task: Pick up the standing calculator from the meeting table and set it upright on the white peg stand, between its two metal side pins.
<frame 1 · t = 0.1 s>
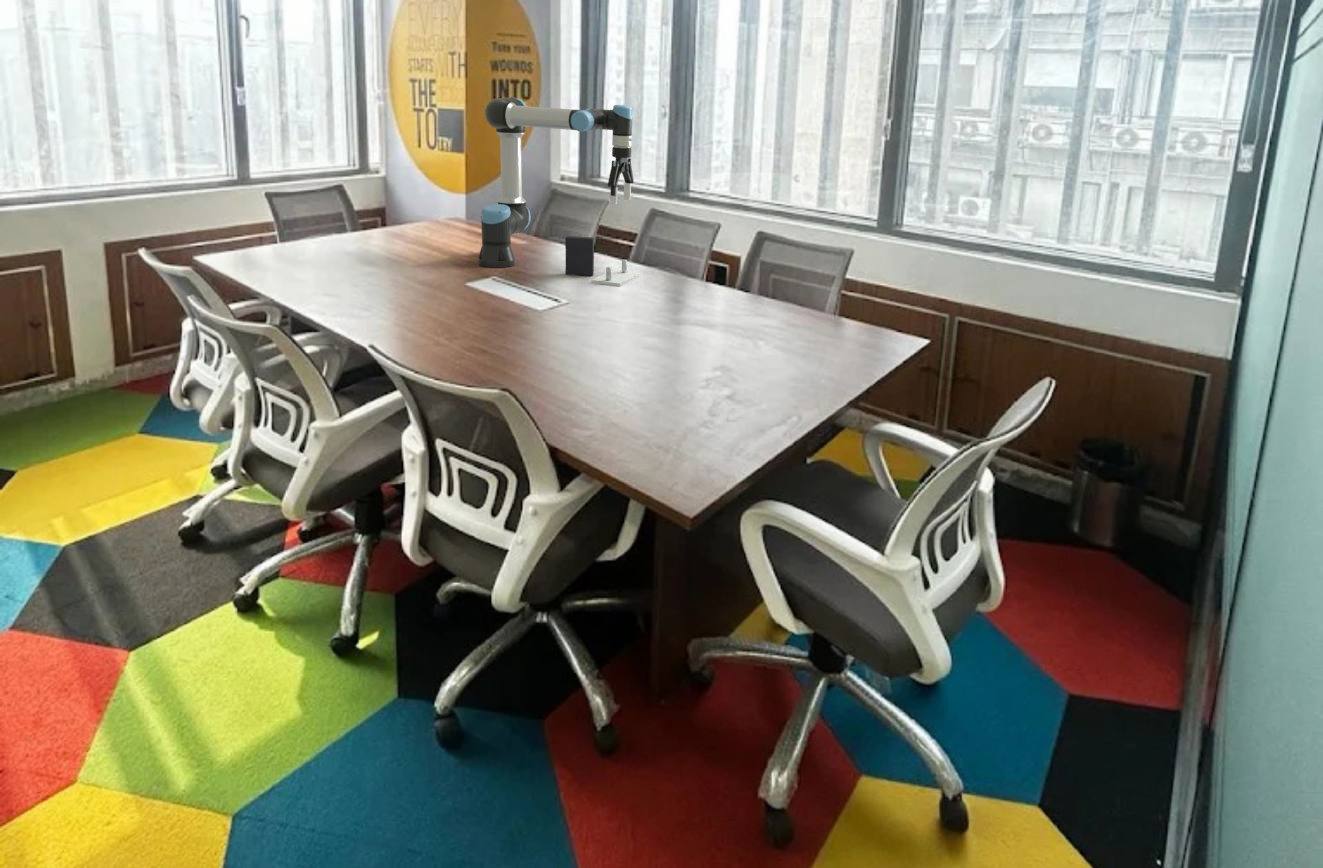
hand: (620, 202, 383), 28 cm above the table, tool pointing down, fingers open, 13 cm apart
white peg stand: (616, 279, 379), on the table
calculator: (579, 275, 384), on the table
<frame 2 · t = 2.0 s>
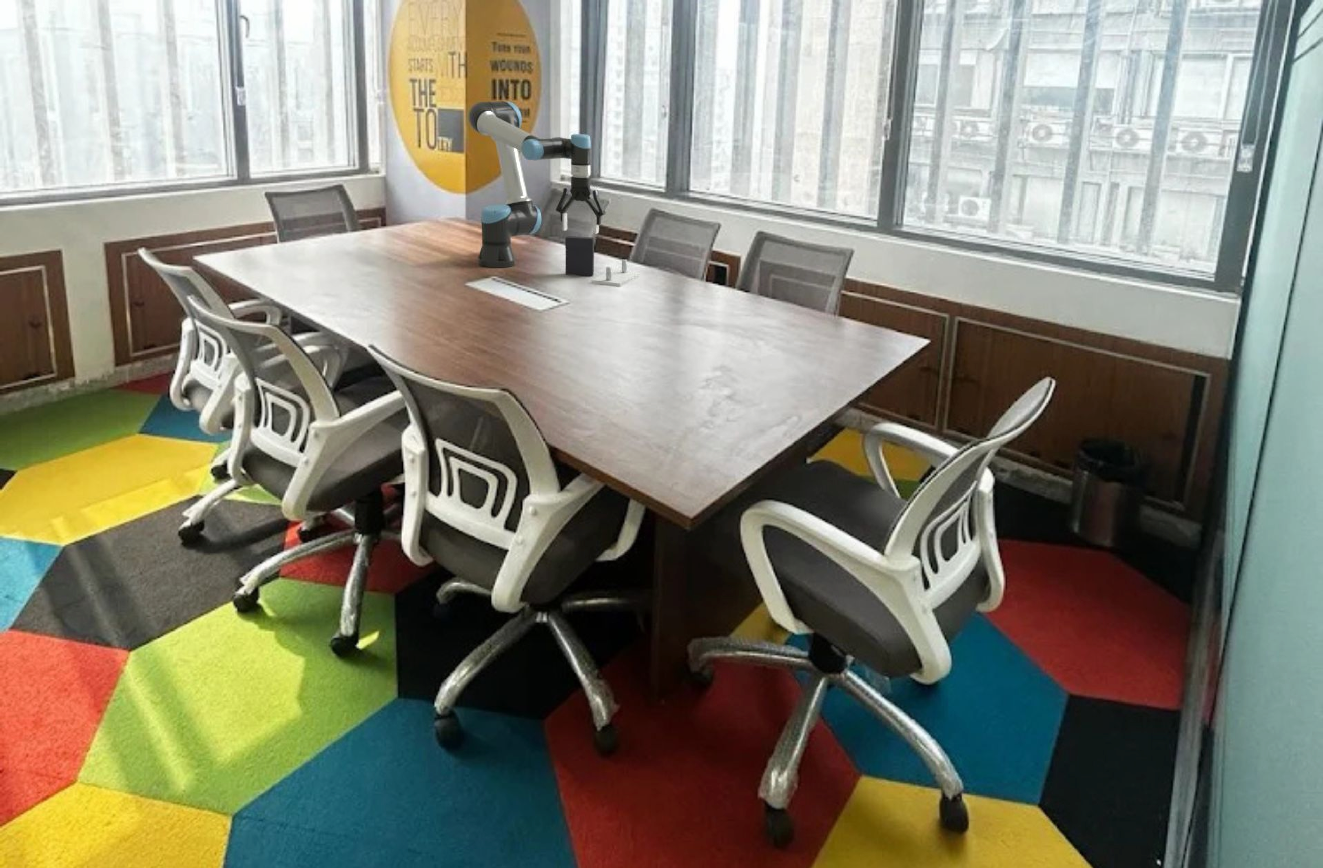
hand: (580, 231, 378), 17 cm above the table, tool pointing down, fingers open, 13 cm apart
nothing on the table moved.
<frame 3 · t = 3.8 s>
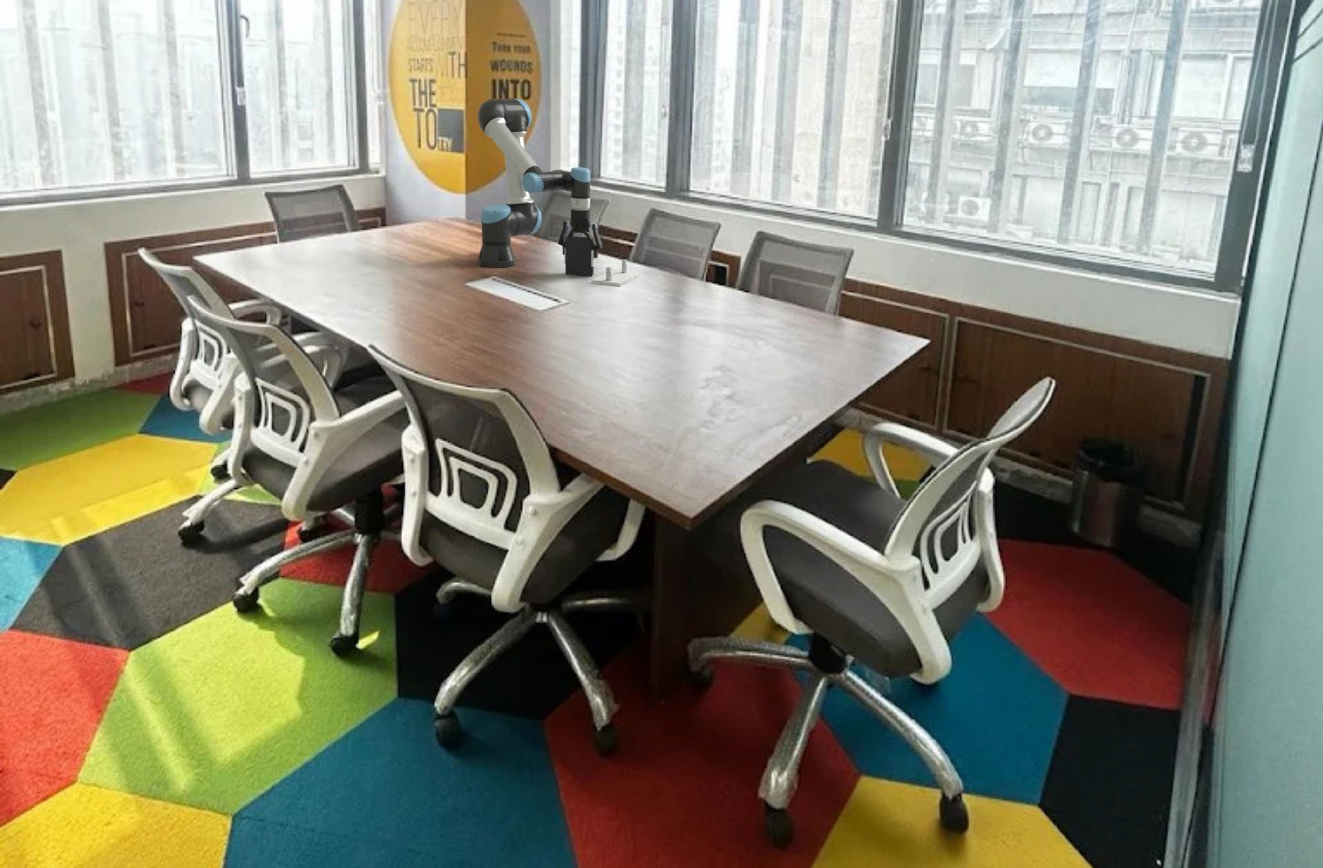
hand: (580, 264, 383), 4 cm above the table, tool pointing down, fingers closed on calculator, 11 cm apart
calculator: (579, 275, 384), on the table, touching gripper
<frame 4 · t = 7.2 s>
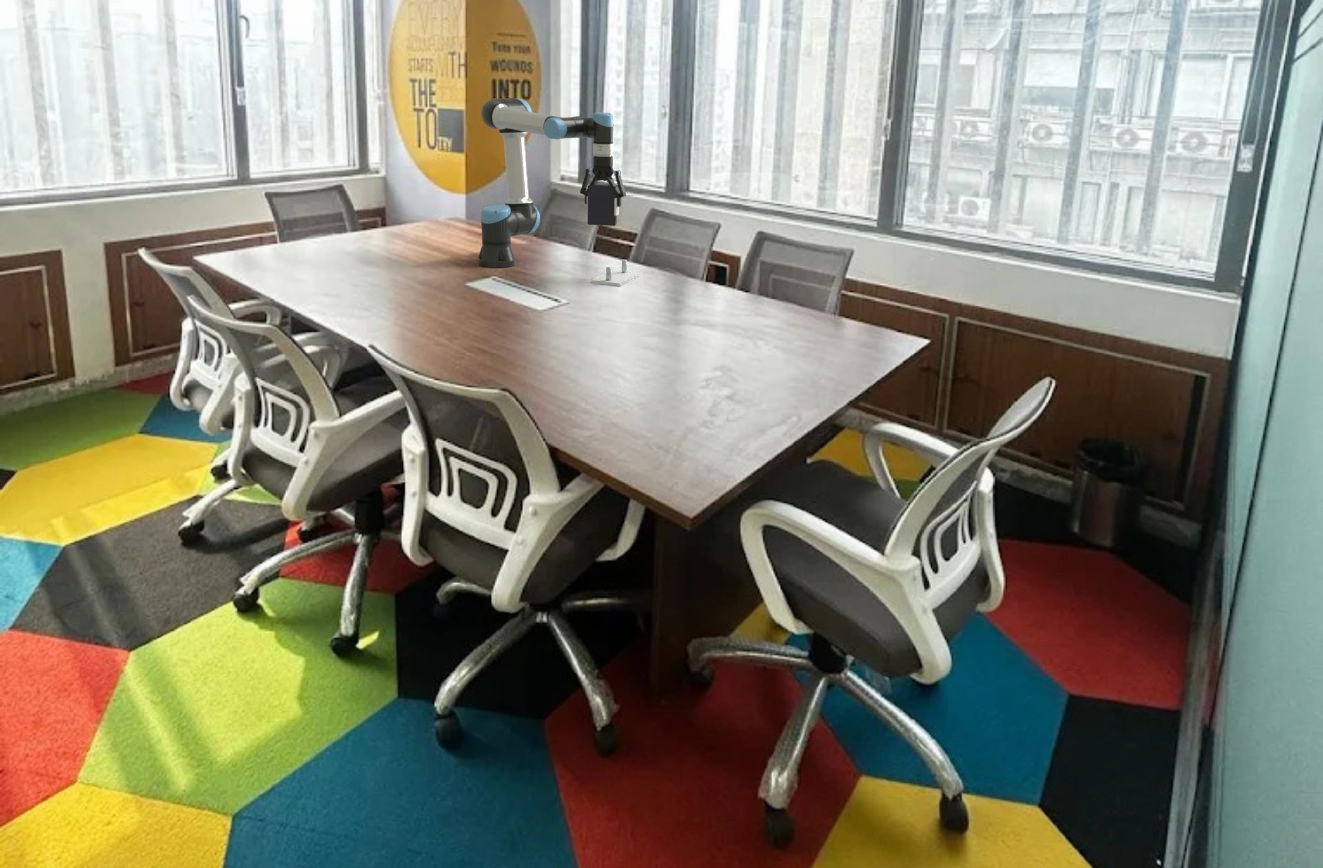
hand: (602, 214, 372), 25 cm above the table, tool pointing down, fingers closed on calculator, 11 cm apart
calculator: (602, 225, 374), point 21 cm above the table, touching gripper
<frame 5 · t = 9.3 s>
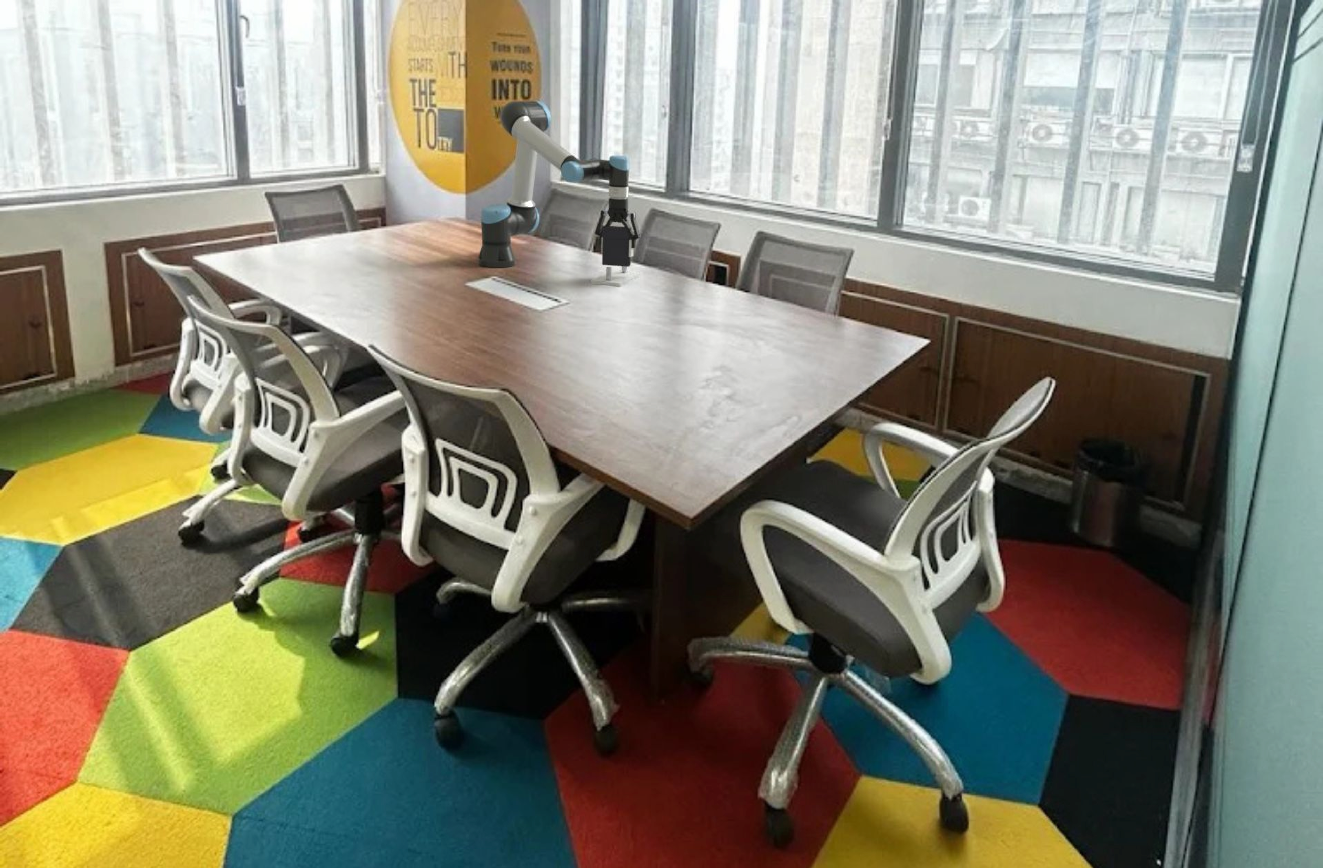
hand: (617, 254, 376), 10 cm above the table, tool pointing down, fingers closed on calculator, 11 cm apart
calculator: (616, 265, 377), point 5 cm above the table, touching gripper
when the fingers open (6 cm above the table, at t = 10.6 s): calculator drops 1 cm, resting on white peg stand.
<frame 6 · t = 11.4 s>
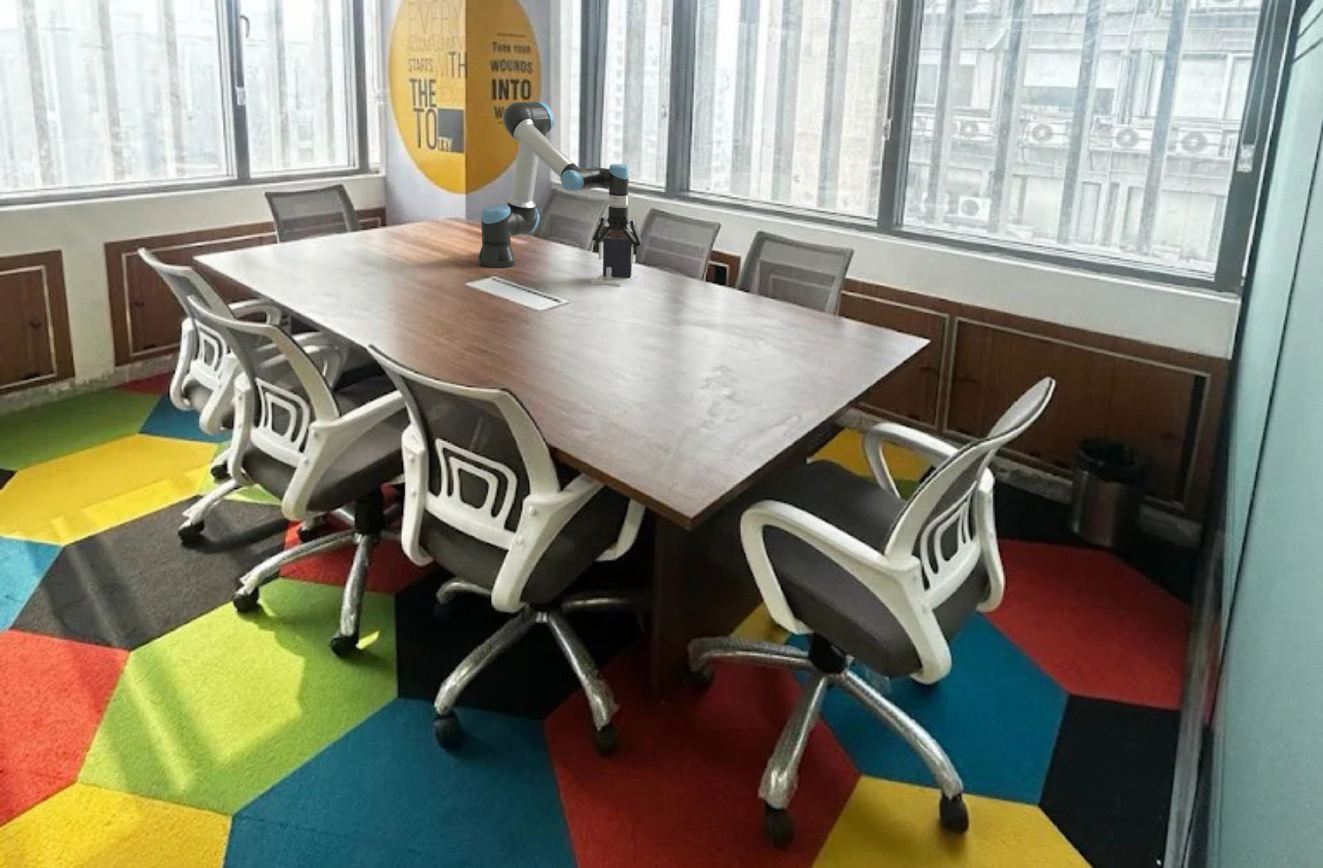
hand: (616, 261, 377), 7 cm above the table, tool pointing down, fingers open, 13 cm apart
calculator: (617, 276, 379), point 1 cm above the table, touching white peg stand
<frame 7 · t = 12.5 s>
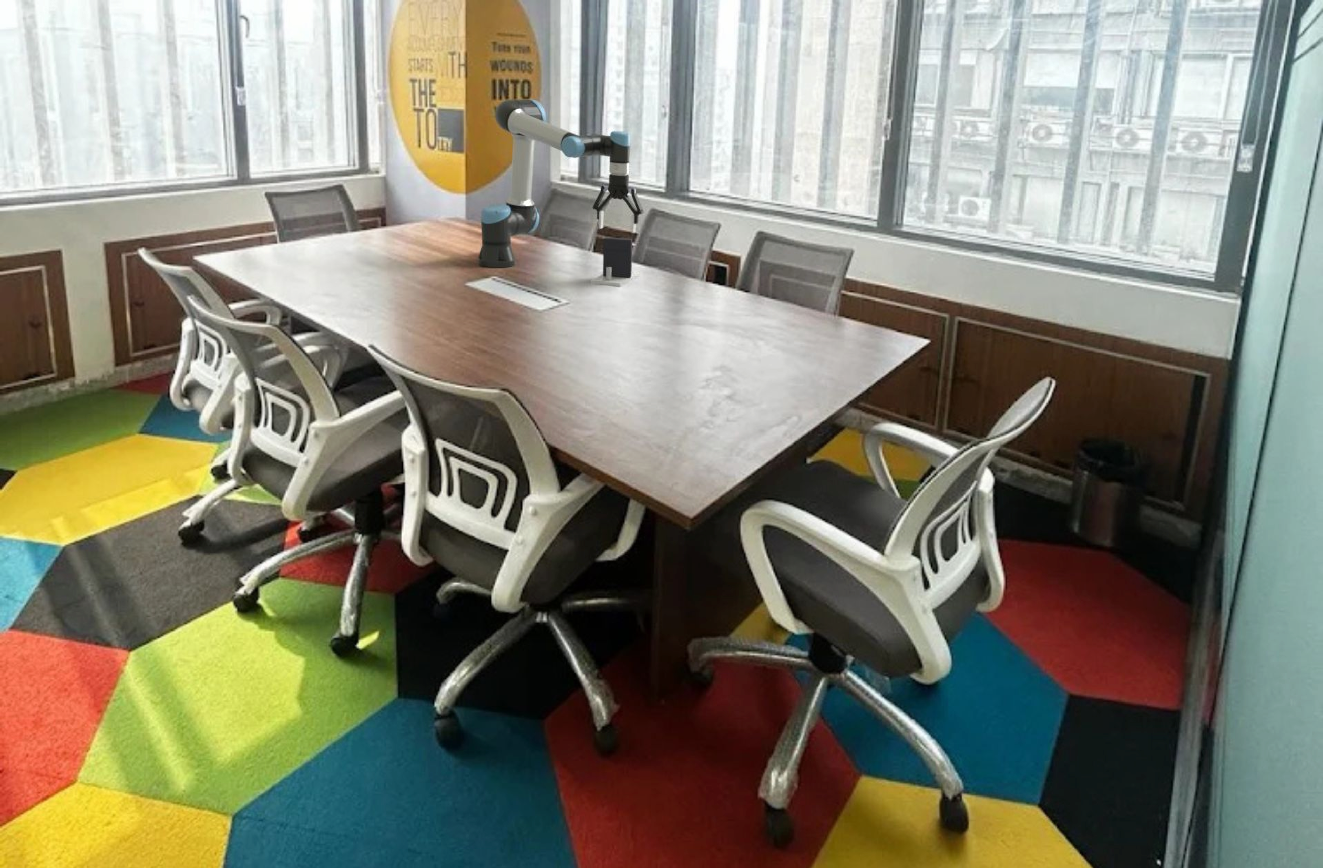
hand: (617, 230, 372), 19 cm above the table, tool pointing down, fingers open, 13 cm apart
nothing on the table moved.
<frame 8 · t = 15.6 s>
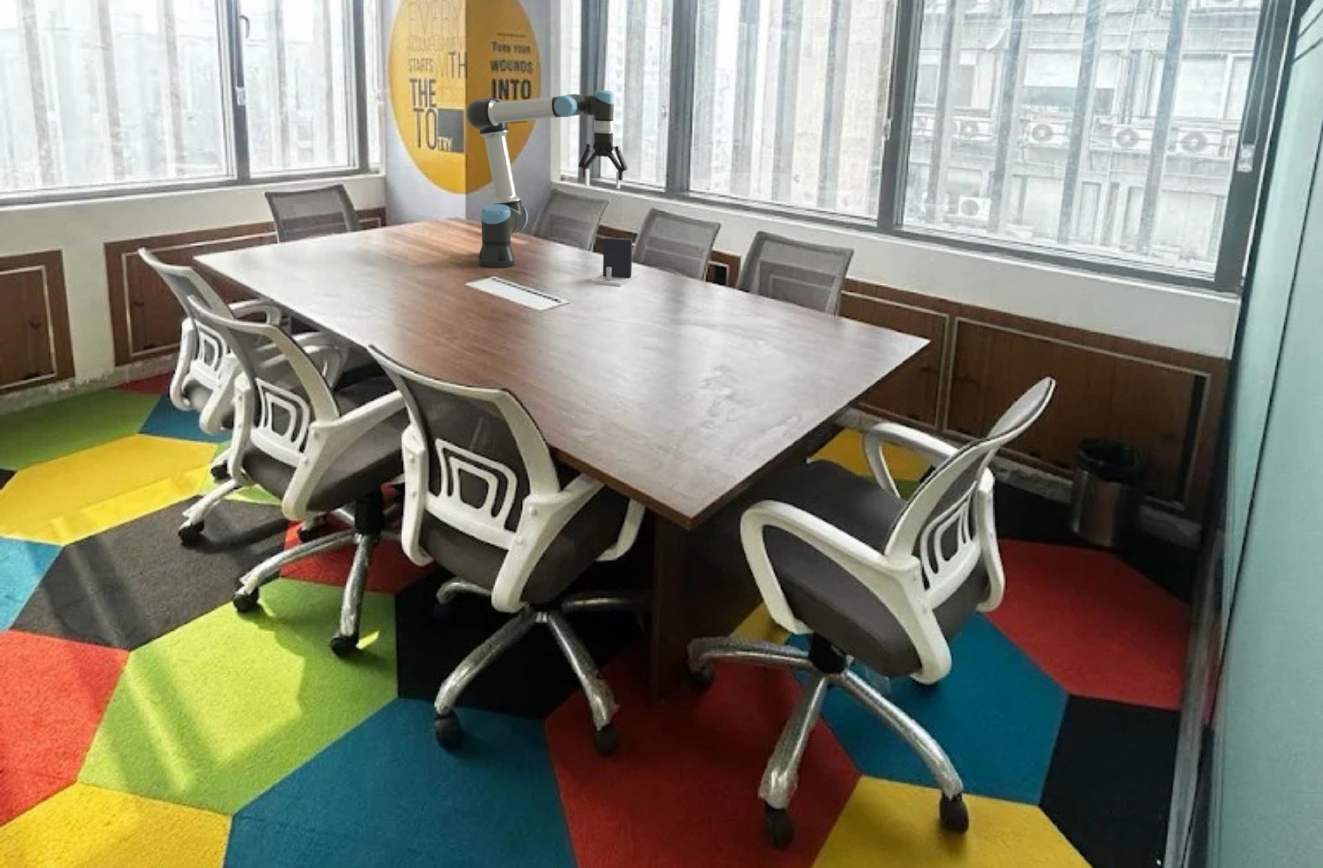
hand: (602, 187, 387), 33 cm above the table, tool pointing down, fingers open, 13 cm apart
nothing on the table moved.
at the end: calculator 0.3 cm off-centre on the white peg stand, point 1.0 cm above the white peg stand's base; calculator tilted 0°; the gripper is holding nothing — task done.
